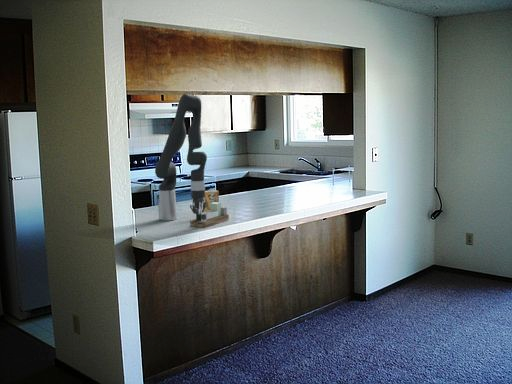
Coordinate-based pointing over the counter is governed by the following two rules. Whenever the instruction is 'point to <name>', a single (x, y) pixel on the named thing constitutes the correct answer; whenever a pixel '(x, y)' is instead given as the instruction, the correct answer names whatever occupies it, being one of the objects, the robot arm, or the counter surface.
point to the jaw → (208, 215)
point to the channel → (222, 218)
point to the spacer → (216, 207)
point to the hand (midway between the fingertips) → (198, 220)
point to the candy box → (211, 198)
